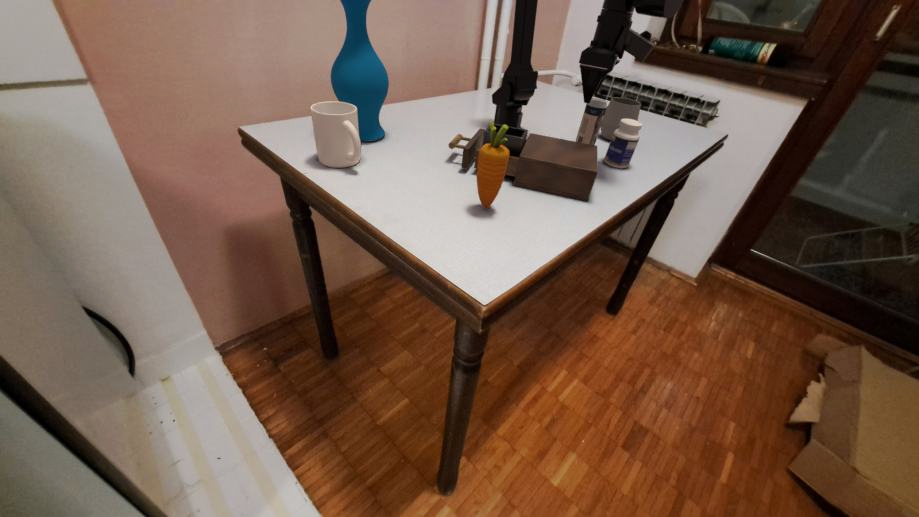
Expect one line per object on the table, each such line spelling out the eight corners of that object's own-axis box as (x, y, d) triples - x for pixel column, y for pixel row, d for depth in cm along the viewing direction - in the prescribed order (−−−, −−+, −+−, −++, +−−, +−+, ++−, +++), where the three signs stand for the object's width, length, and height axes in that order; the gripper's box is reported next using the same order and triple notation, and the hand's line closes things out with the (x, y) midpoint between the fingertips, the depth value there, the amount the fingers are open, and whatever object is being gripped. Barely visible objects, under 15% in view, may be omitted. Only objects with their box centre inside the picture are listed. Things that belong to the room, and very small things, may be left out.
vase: (396, 130, 90) (395, -8, 73) (379, 148, 81) (372, -7, 63) (350, 123, 91) (338, -15, 74) (327, 140, 82) (307, -16, 64)
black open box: (480, 159, 76) (484, 131, 72) (486, 150, 81) (490, 122, 77) (517, 167, 75) (523, 138, 71) (522, 157, 79) (528, 129, 76)
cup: (624, 147, 97) (639, 108, 91) (591, 137, 101) (603, 99, 95) (634, 139, 103) (648, 102, 97) (602, 130, 107) (614, 94, 101)
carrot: (470, 201, 66) (481, 115, 56) (496, 202, 66) (512, 118, 57) (473, 215, 62) (485, 126, 53) (501, 216, 62) (518, 128, 53)
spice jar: (593, 155, 90) (609, 104, 83) (573, 151, 91) (588, 101, 83) (591, 148, 94) (607, 99, 87) (572, 145, 94) (587, 96, 87)
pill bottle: (598, 160, 88) (613, 118, 82) (616, 158, 90) (631, 117, 84) (615, 170, 84) (631, 126, 78) (633, 167, 86) (650, 125, 80)
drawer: (441, 163, 75) (443, 143, 72) (460, 143, 85) (462, 124, 83) (526, 182, 72) (530, 161, 69) (534, 158, 82) (539, 139, 80)
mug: (379, 169, 72) (376, 116, 66) (341, 179, 67) (334, 123, 61) (347, 149, 78) (342, 99, 72) (310, 157, 74) (302, 104, 67)
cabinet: (513, 185, 73) (519, 155, 69) (524, 159, 84) (529, 132, 80) (587, 201, 70) (597, 171, 66) (588, 172, 81) (597, 145, 78)
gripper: (661, 19, 59) (624, 117, 68) (663, 15, 73) (632, 97, 82) (592, 9, 62) (566, 104, 72) (607, 7, 76) (583, 87, 85)
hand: (590, 98), depth 78 cm, fingers open, 9 cm apart
